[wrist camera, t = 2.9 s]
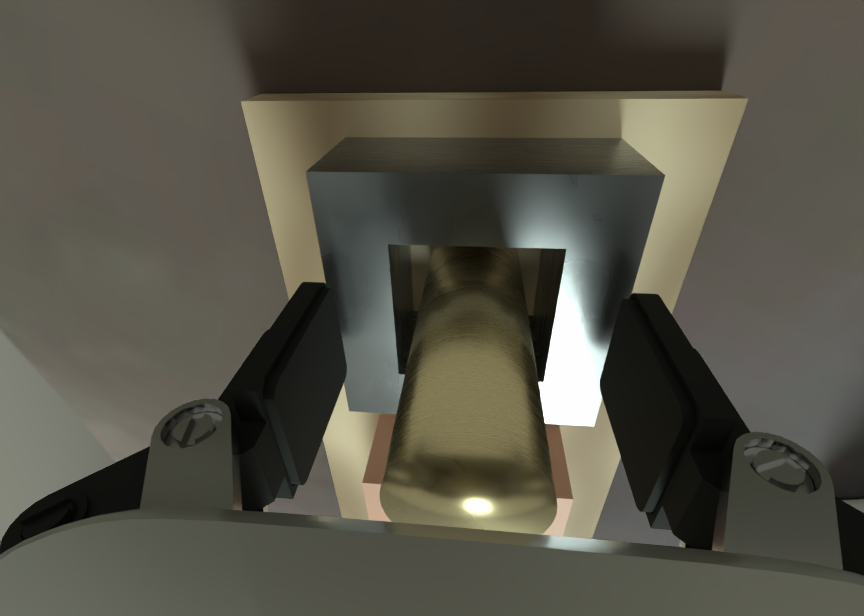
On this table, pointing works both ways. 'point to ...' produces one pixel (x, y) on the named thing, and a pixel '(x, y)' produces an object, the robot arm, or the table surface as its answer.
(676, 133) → the oak board
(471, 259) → the brass pin
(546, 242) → the mount collar
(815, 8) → the table surface
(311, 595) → the robot arm
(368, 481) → the socket collar
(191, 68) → the table surface
